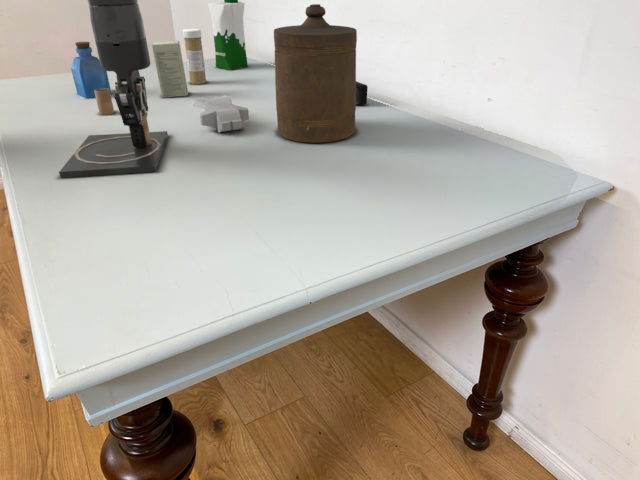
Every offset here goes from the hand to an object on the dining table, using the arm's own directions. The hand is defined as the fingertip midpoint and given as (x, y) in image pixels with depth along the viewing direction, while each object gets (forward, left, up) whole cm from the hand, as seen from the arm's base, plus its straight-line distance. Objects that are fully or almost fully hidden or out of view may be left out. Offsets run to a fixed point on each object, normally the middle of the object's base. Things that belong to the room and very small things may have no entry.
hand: (141, 142), depth 83 cm
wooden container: (+31, +5, -2) cm, 32 cm away
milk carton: (+15, +74, -1) cm, 76 cm away
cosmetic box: (+1, +40, -1) cm, 40 cm away
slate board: (-4, -2, -1) cm, 4 cm away
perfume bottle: (-19, +45, -1) cm, 49 cm away
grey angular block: (+13, +13, -1) cm, 19 cm away
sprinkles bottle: (+6, +53, -1) cm, 53 cm away
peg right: (0, 0, 0) cm, 0 cm away
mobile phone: (+41, +28, -1) cm, 50 cm away
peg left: (-12, +26, -1) cm, 28 cm away
